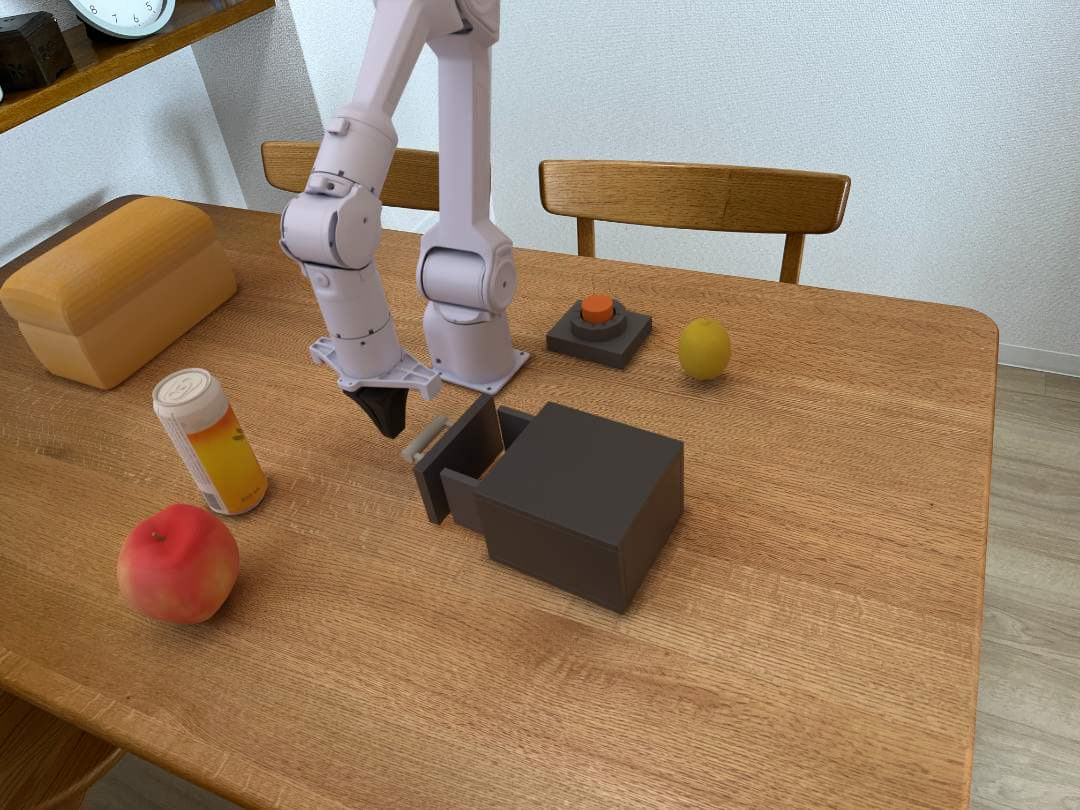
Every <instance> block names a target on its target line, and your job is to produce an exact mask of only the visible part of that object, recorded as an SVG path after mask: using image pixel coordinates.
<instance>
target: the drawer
mask: <svg viewBox="0 0 1080 810" xmlns="http://www.w3.org/2000/svg"><path fill="white" fill-rule="evenodd" d="M496 407H497V406H496V403H495V398H494V395H490V394H487V393H483V392H481V394H480V395H479V396H478V397H477V398H476V399H475V401H474V402H473V403H472V404H470V406H469V407H468V408H467V410H465V411H464V413H462V414H461V416H460V417H458V419H457V420H455V421H451V420H450V419H449V418H448V417H447V415H445V414H444V413H438V414H437V415H436V416H435V417H434V418H433V419H432V420H431V421H430V422H429V423H428V424H427V425H426V426H425V427H424V429H422V431H420V432H419V434H417V436H416V437H415V438H413V440H412V441H411V442H410V443H409V444H408V445H407V446H406V447H405V448H404V449H403V450H402V452H401V454H400V456H401V458H402V459H403V460H404V461H405V462H406V463H409V464H412V463H414V462H417V463H416V464H415V465H414V466H413V467H412V473H413V475H414V478H415V481H416V484H417V487H418V491H419V494H420V497H421V500H422V503H423V504H422V505H423V506H424V509H425V512H426V513H425V514H426V516H427V519H428V522H429V523H430V524H433V525H436V526H438V527H439V526H441V524H443V522H444V521H445V520H446V519H447V518H448V516H449V515H450V514H451V518H452V521H453V524H455V525H456V526H459V527H461V528H465V529H466V530H469V531H471V532H474V533H476V534H479V535H481V536H484V534H483V530H482V526H481V522H480V518H479V515H478V511H477V507H476V503H475V499H474V495H473V490H474V489H475V488H476V486H477V485H478V484H479V483H480V482H481V480H479V479H480V478H481V477H482V476H483V475H484V474H485V473H486V471H487V470H488V469H489V468H490V466H491V465H492V464H494V462H495V461H496V460H497V458H498V457H499V456H500V455H501V454H502V452H503V451H504V453H505V452H506V451H507V449H508V448H509V447H510V446H511V445H512V444H513V442H514V441H515V440H516V439H517V438H518V436H519V435H520V434H521V433H522V432H523V430H524V429H525V428H526V427H527V426H528V425H529V423H530V422H531V421H532V420H533V419H534V417H535V416H536V415H534V414H532V413H528V412H525V411H521V410H518V409H515V408H512V407H509V406H506V405H502V404H500V405H499V406H498V407H497V408H496ZM444 429H448V430H447V431H445V433H444V434H443V435H442V436H441V437H440V438H439V439H438V440H437V442H435V443H434V444H433V446H432V447H431V448H430V449H429V450H428V451H427V452H426V453H425V454H422V453H423V452H424V451H425V450H426V449H427V448H428V447H429V446H430V444H431V443H432V442H433V441H434V440H435V439H436V438H437V437H438V436H439V435H440V434H441V433H442V432H443V431H444Z"/></svg>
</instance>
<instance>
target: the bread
mask: <svg viewBox="0 0 1080 810" xmlns="http://www.w3.org/2000/svg"><path fill="white" fill-rule="evenodd" d="M217 235H218V234H217V228H216V227H215V224H214V221H213V220H212V219H211V217H210V216H209V215H208V214H207V213H206V212H204V211H203V210H202V209H201V208H199V207H197V206H195V205H193V204H189V203H186V202H183V201H180V200H176V199H172V198H170V197H165V196H158V195H154V196H153V195H152V196H151V195H150V196H144V197H140V198H136V199H135V200H132V201H130V202H128V203H127V204H125V205H123V206H121V207H119V208H118V209H116V210H114V211H113V212H111V213H109V214H108V215H106V216H104V217H103V218H101V219H99V220H98V221H96V222H94V223H93V224H92V225H89V226H88V227H86V228H85V229H83V230H81V231H80V232H78V233H76V234H74V235H73V236H71V237H69V238H68V239H67V240H65V241H63V242H61V243H60V244H58V245H56V246H55V247H53V248H51V249H50V250H47V251H46V252H45V253H43V254H42V255H39V256H38V257H37V258H34V259H33V260H32V261H30V262H29V263H27V264H25V265H24V266H22V267H21V268H20V269H18V270H17V271H15V272H14V273H12V274H11V275H10V276H9V277H8V278H7V279H6V280H5V281H4V283H3V284H2V286H1V288H0V302H1V305H2V306H3V308H4V310H5V311H6V313H7V314H8V315H9V316H10V317H11V318H12V319H14V320H15V321H16V322H17V325H18V328H19V330H20V332H21V334H22V336H23V338H24V339H25V341H26V343H27V345H28V346H29V347H30V349H31V351H32V352H33V354H34V355H35V357H36V358H37V359H38V361H39V362H40V363H41V364H42V365H43V366H44V367H45V368H46V369H47V370H48V371H49V373H50V374H52V375H54V376H57V377H61V378H64V379H66V380H67V379H68V380H70V381H74V382H77V383H80V384H83V385H87V386H90V387H94V388H96V389H99V390H100V389H101V390H104V391H108V390H111V389H114V388H115V387H117V386H119V385H121V384H122V383H123V382H124V381H126V380H127V379H129V378H130V377H131V376H133V375H134V374H136V373H137V372H138V371H139V370H140V369H142V368H143V367H144V366H146V365H147V363H149V362H151V361H152V360H153V359H154V358H155V357H157V356H158V355H159V354H160V353H162V352H163V351H165V350H166V349H167V348H168V347H169V346H171V345H172V344H173V343H175V342H176V341H177V340H179V339H180V338H181V337H182V336H183V335H185V334H186V333H187V332H188V331H190V330H191V329H193V328H194V327H195V326H196V325H198V324H199V323H200V322H201V321H202V320H204V319H205V318H207V317H208V316H209V315H210V314H211V313H213V312H214V311H216V310H217V309H218V308H219V307H220V306H222V305H223V304H224V303H225V302H227V301H228V300H229V299H230V298H232V297H233V296H234V295H235V294H237V292H238V282H237V278H236V275H235V272H234V269H233V267H232V264H231V263H230V260H229V258H228V256H227V254H226V251H225V249H224V248H223V245H222V244H221V242H219V240H218V239H217V238H218V237H217Z"/></svg>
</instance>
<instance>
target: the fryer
mask: <svg viewBox="0 0 1080 810" xmlns="http://www.w3.org/2000/svg"><path fill="white" fill-rule="evenodd" d="M534 416H535V417H534V419H533V420H532V421H531V422H530V423H529V425H528V426H527V427H526V428H525V429H524V430H523V432H522V433H521V434H520V435H519V436H518V438H517V439H516V440H515V441H514V442H513V444H512V445H511V446H510V447H509V448H508V449H507V451H506V452H505V451H504V452H503V454H502V455H501V456H500V458H498V460H497V461H496V462H495V463H494V465H493V466H492V467H491V468H490V469H489V471H488V472H487V473H486V474H485V476H484V477H483V478H481V480H480V481H481V482H480V483H479V484H478V485H477V486H476V488H475V489H474V490H473V495H474V499H475V503H476V507H477V511H478V515H479V518H480V522H481V526H482V530H483V534H484V535H483V538H484V541H485V545H486V550H487V553H488V557H489V560H492V561H494V562H496V563H499V564H500V565H503V566H506V567H507V568H510V569H512V570H515V571H517V572H519V573H522V574H524V575H527V576H528V577H532V578H533V579H536V580H539V581H541V582H542V583H545V584H548V585H550V586H552V587H555V588H557V589H560V590H562V591H565V592H566V593H569V594H571V595H574V596H576V597H579V598H581V599H583V600H585V601H588V602H590V603H593V604H595V605H597V606H599V607H602V608H604V609H606V610H608V611H611V612H614V613H616V614H619V615H620V616H624V615H625V613H626V611H627V610H628V608H629V607H630V605H631V603H632V601H633V600H634V598H635V596H636V594H637V593H638V591H639V589H640V588H641V586H642V584H643V583H644V581H645V579H646V578H647V576H648V574H649V573H650V571H651V569H652V568H653V566H654V564H655V562H656V561H657V559H658V557H659V555H660V554H661V552H662V551H663V549H664V547H665V546H666V544H667V542H668V540H669V538H670V537H671V535H672V534H673V532H674V531H675V528H676V527H677V525H678V523H679V522H680V520H681V518H682V517H683V515H684V513H685V449H684V448H685V442H684V441H682V440H679V439H676V438H672V437H669V436H666V435H664V434H663V435H662V434H659V433H656V432H653V431H649V430H647V429H643V428H639V427H636V426H634V425H630V424H627V423H623V422H620V421H616V420H613V419H611V418H606V417H604V416H600V415H597V414H595V413H590V412H586V411H583V410H581V409H577V408H574V407H570V406H567V405H563V404H560V403H558V402H555V401H550V400H548V401H547V402H546V403H545V404H544V405H543V406H542V408H541V409H540V410H539V412H538V413H537V414H536V415H534Z"/></svg>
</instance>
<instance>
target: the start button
mask: <svg viewBox="0 0 1080 810" xmlns="http://www.w3.org/2000/svg"><path fill="white" fill-rule="evenodd" d="M612 299H613V298H611V297H610V296H609V295H605V294H592V295H589V296H587V297H585V298H584V299H582V300H583V301H582V304H581V305H582V315H583V319H584V320H585V321H586V322H589V323H593V324H595V323H604V322H606V321H609V320H611V319H612V317H613V302H612Z"/></svg>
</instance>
